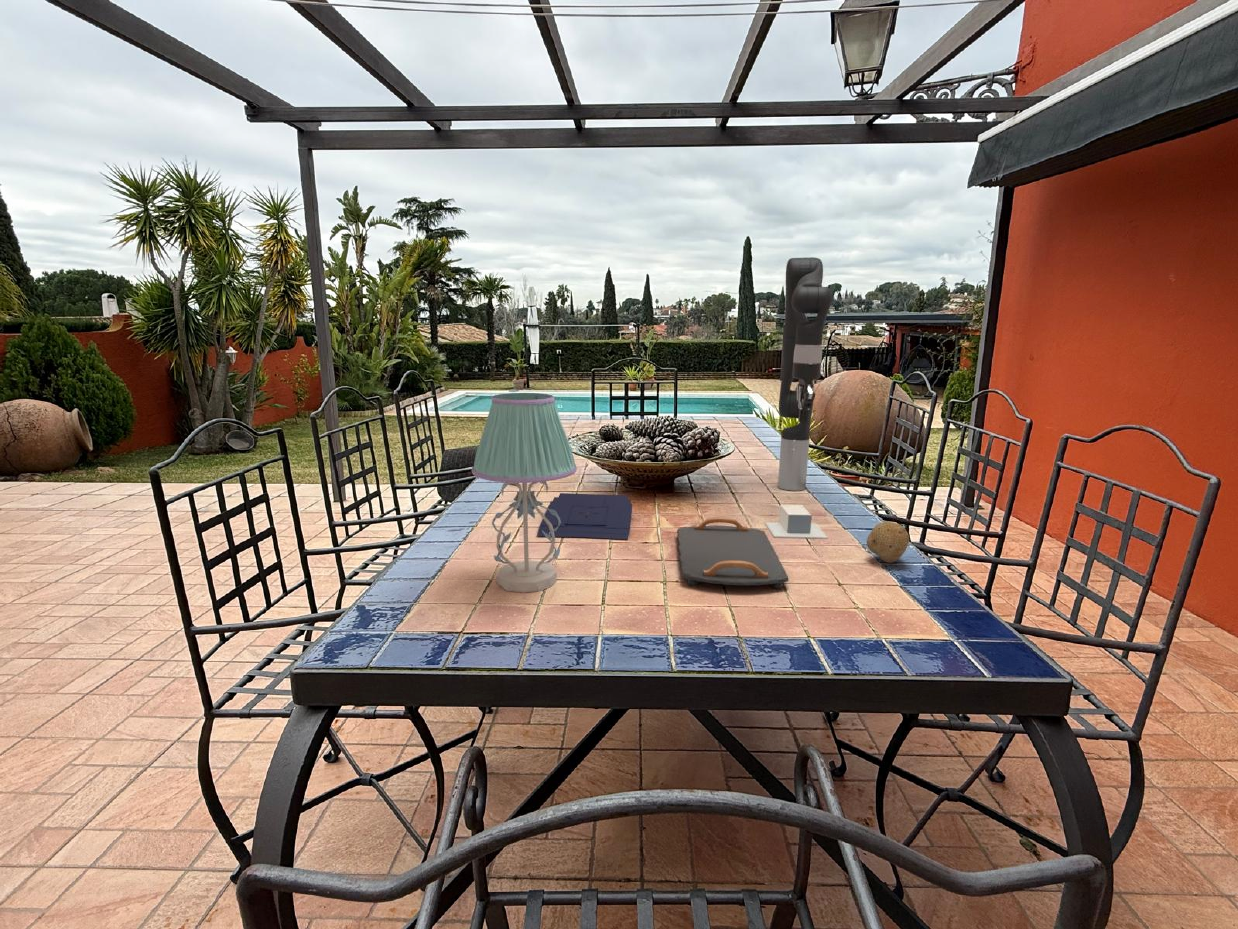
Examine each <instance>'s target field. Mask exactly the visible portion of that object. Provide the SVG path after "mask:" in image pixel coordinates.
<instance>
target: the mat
mask: <svg viewBox="0 0 1238 929" xmlns="http://www.w3.org/2000/svg"><path fill="white" fill-rule="evenodd" d="M764 525H766V528H768V530H769V532H770V533H771V536H772V537H773V538H774V537H775V539H777V538H778V539H779V538H780V539H781V538H783V539H819V540H820V539H823V540H826V539H828V538H829V537H828V536H827V535H826V534H825V532H824V531H823V530H822V529H821V528H820V527H819V526H818V525H817V523H815V522H811V530H810V533H787V532H786V530H785V529H784V528H783V526H782V525H781V524H780V522H779V521H778V522H777V521H776V522H772V521H771V522H769V521H765V522H764Z"/></svg>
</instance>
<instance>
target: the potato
mask: <svg viewBox="0 0 1238 929" xmlns="http://www.w3.org/2000/svg"><path fill="white" fill-rule="evenodd" d="M909 543H910V536H909V533H908V531H907V530H906V528H905V527H904V526H902V525H901V524H900V523H897V522H895V521H894V522H893V521H889V520H888V521H883V522H881V523H880V522H879V524H876V525H875V526H874V527H873V529H872V530H871V531H870V533H869V534H868V536H867V538H866V546H867V549H868V550H869V551H870V552H872V553H873V554H875V555H876V556H877V557H879V559H880V560H881V561H883V562H885V563H888V564H891V563H895V562H896V561H898V560H899V559H900V558H902V556H903V555H904V554H905V552H906V551H907V548H908V546H909Z"/></svg>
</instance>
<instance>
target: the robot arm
mask: <svg viewBox="0 0 1238 929" xmlns="http://www.w3.org/2000/svg"><path fill="white" fill-rule="evenodd" d="M823 265H824V264H823V262H822V260H821V258H818V257H812V256H811V257H791V258H789V259H788V260H787V263H786V267H785V315H784V326H783V339H782V340H783V341H782V342H783V343H782V368H781V370H782V371H781V379H780V390H779V399H778V414H779V416H780V417H782V418H786V419H798V422H799V423H797V424H795V425H792V426H789V427H784V428H783V429H782V430H781V433H780V434H781V436H780V451H779V462H778V464H779V466H778V478H777V479H778V480H777V487H778V488H779V489H781V490H786V491H794V492H795V491H804V490H806V485H807V475H808V474H807V473H808V461H809V460H808V459H809V446H810V435H811V434H810V433H811V424H812V423H811V422H812V413H813V407H814V400H815V398H816V392H815V385H814V380H819V379H820V378H821V372H822V371H821V370H822V360H823V359H822V358H823V345H822V344H823V334H824V333H823V332H824V326H825V322H826V319H827V315H828V314H829V310H830V309H831V306H832V304H833V303H832V302H833V292H832V291H831V289H830V288H829V287H827V286H823V278H824V266H823ZM806 314H816V317H815V318H813V319H812V320H809V319H808V317H807V316H806ZM794 379H796V380H798V383H797V384H796V386H795V388H794V389H795V390H793V389H792V390H791V387H792V382H794Z"/></svg>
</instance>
